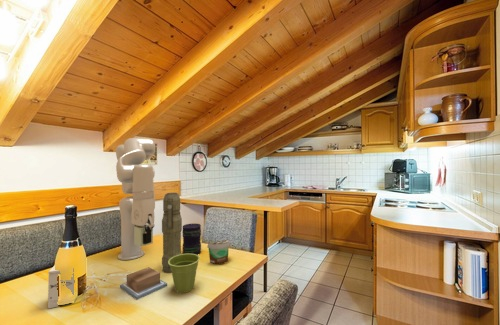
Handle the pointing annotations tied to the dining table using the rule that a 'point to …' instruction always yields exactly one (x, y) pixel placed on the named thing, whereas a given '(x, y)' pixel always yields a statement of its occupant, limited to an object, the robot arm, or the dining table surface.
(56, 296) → the supplement box
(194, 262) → the plant pot
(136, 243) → the sage pillar block
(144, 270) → the walnut plinth
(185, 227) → the storage jar
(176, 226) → the thermos
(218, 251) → the food container
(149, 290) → the blueprint mat
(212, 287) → the dining table surface
